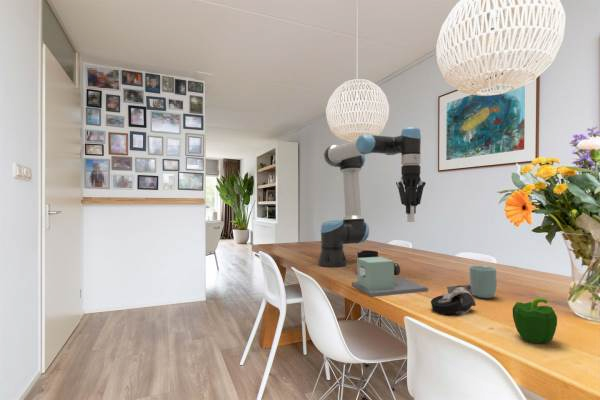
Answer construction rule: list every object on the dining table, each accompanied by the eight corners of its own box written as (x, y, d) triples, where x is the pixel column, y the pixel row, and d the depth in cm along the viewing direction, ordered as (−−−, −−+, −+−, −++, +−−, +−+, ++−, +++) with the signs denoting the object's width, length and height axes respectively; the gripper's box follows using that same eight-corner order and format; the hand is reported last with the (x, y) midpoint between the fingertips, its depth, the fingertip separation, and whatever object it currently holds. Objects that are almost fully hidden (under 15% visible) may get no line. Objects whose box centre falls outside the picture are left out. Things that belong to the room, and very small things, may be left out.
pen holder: (354, 271, 148) (354, 250, 148) (373, 270, 150) (373, 250, 150) (362, 276, 139) (361, 253, 139) (381, 275, 141) (381, 253, 141)
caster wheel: (433, 321, 91) (436, 307, 100) (475, 320, 86) (476, 305, 94) (427, 300, 91) (431, 287, 100) (469, 297, 86) (470, 283, 94)
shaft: (357, 276, 118) (357, 264, 118) (393, 273, 122) (393, 261, 122) (363, 279, 114) (362, 266, 114) (400, 276, 118) (400, 264, 118)
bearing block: (351, 285, 124) (351, 257, 124) (402, 280, 130) (402, 253, 130) (371, 296, 108) (370, 264, 109) (427, 290, 114) (427, 260, 115)
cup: (489, 293, 110) (488, 265, 110) (501, 300, 102) (500, 270, 102) (466, 293, 110) (465, 265, 111) (476, 300, 103) (476, 270, 103)
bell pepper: (505, 337, 75) (505, 295, 75) (522, 329, 79) (521, 290, 79) (547, 351, 67) (546, 305, 68) (563, 342, 72) (562, 298, 72)
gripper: (402, 164, 124) (402, 222, 125) (430, 164, 128) (430, 222, 128) (392, 165, 132) (392, 221, 132) (418, 166, 135) (418, 220, 135)
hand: (410, 221), depth 130 cm, fingers closed
